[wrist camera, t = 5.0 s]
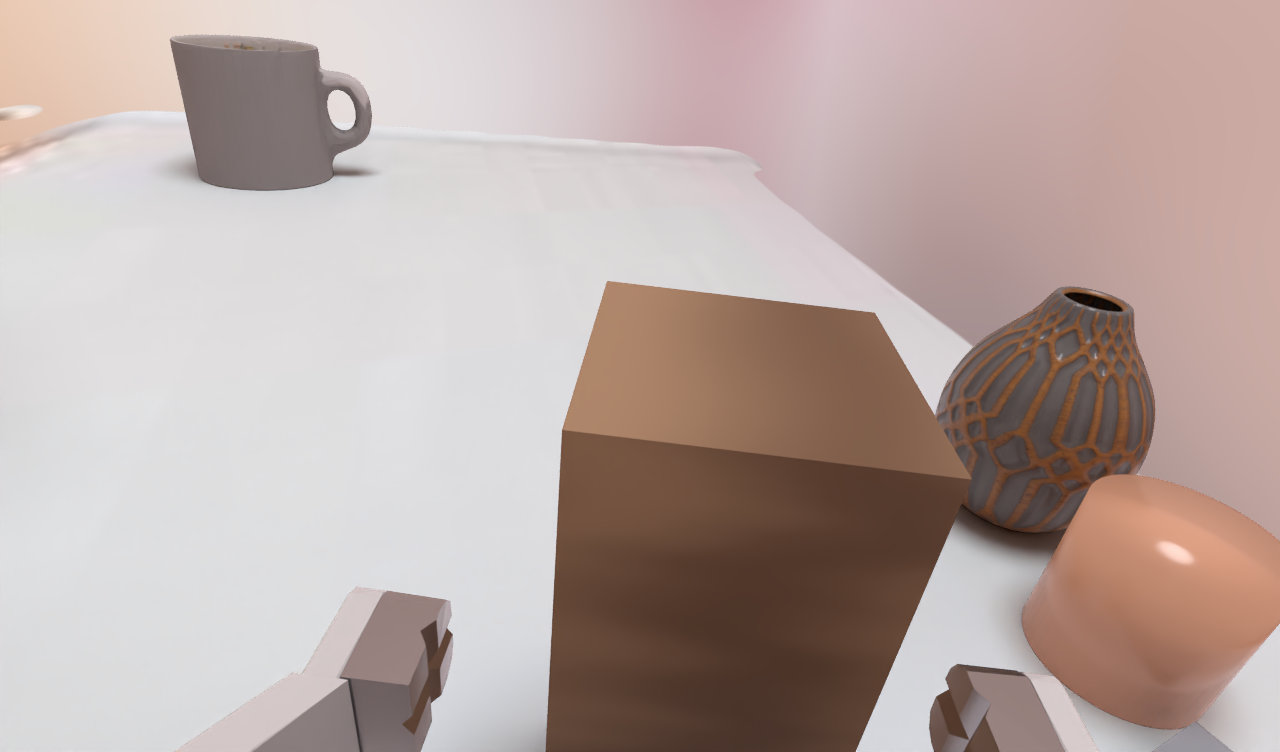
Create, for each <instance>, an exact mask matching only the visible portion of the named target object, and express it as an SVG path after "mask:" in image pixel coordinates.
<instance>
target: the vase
mask: <svg viewBox="0 0 1280 752" xmlns="http://www.w3.org/2000/svg"><path fill="white" fill-rule="evenodd" d="M935 417H936V419H937V420H938V422H939V424H940V425H941V427H942V429H943V431H944V432H945V434H946V436H947V437H948V439H949V441H950V443H951V444H952V446H953V448H954V449H955V451H956V453H957V455H958V456H959V458H960V460H961V461H962V463H963V465H964V467H965V468H966V470H967V472H968V473H969V475H970V477H971V479H972V481H971V483H970V485H969V488H968V490H967V492H966V495H965V497H964V499H963V502H962V504H963V505H964V506H965V507H966V508H967V509H969V510H970V511H971V512H973V513H974V514H976V515H977V516H979V517H981V518H983V519H984V520H986V521H988V522H991V523H993V524H995V525H998V526H1000V527H1003V528H1007V529H1010V530H1014V531H1020V532H1028V533H1038V532H1049V531H1057V530H1063V529H1067V528H1068V526H1069V525H1070V523H1071V521H1072V519H1073V517H1074V515H1075V514H1076V512H1077V510H1078V508H1079V506H1080V505H1081V503H1082V501H1083V499H1084V497H1085V496H1086V494H1087V492H1088V490H1089V488H1090V487H1091V485H1092V484H1093V483H1094V482H1095V481H1096V480H1098V479H1100V478H1102V477H1106V476H1110V475H1122V474H1127V475H1136V474H1137V473H1138V471H1139V469H1140V468H1141V466H1142V464H1143V462H1144V460H1145V458H1146V456H1147V453H1148V450H1149V447H1150V443H1151V439H1152V435H1153V429H1154V422H1155V400H1154V394H1153V389H1152V386H1151V383H1150V380H1149V377H1148V374H1147V371H1146V368H1145V365H1144V362H1143V360H1142V357H1141V354H1140V352H1139V349H1138V346H1137V343H1136V338H1135V333H1134V310H1133V308H1132V307H1131V306H1130V305H1129V304H1127V303H1126V302H1124V301H1123V300H1121V299H1118V298H1116V297H1114V296H1112V295H1109V294H1106V293H1103V292H1099V291H1096V290H1092V289H1087V288H1081V287H1061V288H1058V289H1057V290H1055V291H1054V292H1053V293H1052V294H1051V295H1050V296H1049V297H1048V298H1047V299H1045V300H1044V301H1043V302H1042V303H1041V304H1040V305H1039V306H1037V307H1036V308H1035V309H1033V311H1031V312H1029V313H1027V314H1025V315H1024V316H1022V317H1020V318H1018V319H1016V320H1014V321H1012V322H1011V323H1009V324H1007V325H1005V326H1003V327H1002V328H1000V329H998V330H997V331H995V332H993V333H991V334H990V335H988V336H987V337H985V338H984V339H983V340H981V341H980V342H979V343H977V344H976V345H975V346H974V347H973V348H972V349H971V350H970V351H969V352H968V353H967V354H966V355H965V357H964V358H963V359H962V360H961V361H960V363H959V364H958V365H957V367H956V368H955V369H954V371H953V372H952V374H951V376H950V377H949V379H948V381H947V383H946V385H945V387H944V389H943V392H942V394H941V397H940V400H939V403H938V406H937V410H936V414H935Z"/></svg>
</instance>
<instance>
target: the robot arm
mask: <svg viewBox="0 0 1280 752" xmlns="http://www.w3.org/2000/svg"><path fill="white" fill-rule="evenodd" d="M451 616H452V614H451V604H450V601H448V600H444V599H437V598H431V597H424V596H418V595H411V594H405V593H398V592H392V591H384V590H377V589H370V588H363V587H356V588H355V589H354V590H353V591H352V592H350V593H349V594H348V596H347V597H346V599H345V601H344V602H343V604H342V606H341V608H340V609H339V611H338V613H337V614H336V616H335V618H334V620H333V621H332V623H331V625H330V626H329V628H328V630H327V632H326V633H325V635H324V637H323V638H322V640H321V642H320V644H319V645H318V647H317V649H316V650H315V652H314V654H313V655H312V657H311V659H310V661H309V662H308V664H307V666H306V667H305V669H304V671H303V673H293V672H292V673H291V674H289V675H288V676H287V677H285V678H284V679H282V680H281V681H279V682H278V683H276V684H275V685H273V686H272V687H270V688H269V689H267V690H266V691H264V692H263V693H261V694H260V695H258V696H257V697H255V698H254V699H252V700H251V701H249V702H248V703H246V704H245V705H243V706H242V707H240V708H239V709H237V710H236V711H234V712H233V713H231V714H230V715H228V716H227V717H225V718H224V719H222V720H221V721H219V722H218V723H216V724H215V725H213V726H212V727H210V728H209V729H207V730H206V731H204V732H203V733H201V734H200V735H198V736H197V737H195V738H194V739H192V740H191V741H189V742H188V743H186V744H185V745H183V746H182V747H180V748H179V749H177V750H176V751H174V752H421V749H422V746H423V744H424V741H425V738H426V735H427V733H428V730H429V727H430V725H431V722H432V715H431V703H432V702H433V701H434V700H435V699H437V698H438V697H439V696H440V695H441V694H442V692H443V689H444V686H445V683H446V680H447V677H448V672H449V668H450V664H451V659H452V650H453V634H452V633H451V632H450V631H449V630H448V629H447V626H448V624H449V621H450V618H451ZM945 679H946V681H947V684H948V687H949V690H947V691H945V692H944V693H942V694H940V695H938V696H936V699H935V701H934V703H933V706H932V708H931V710H930V724H929V729H930V736H931V743H932V746H933V749H934V752H1099V751H1098V749H1097V747H1096V745H1095V743H1094V742H1093V740H1092V738H1091V736H1090V734H1089V732H1088V731H1087V729H1086V727H1085V725H1084V723H1083V721H1082V720H1081V718H1080V716H1079V714H1078V712H1077V710H1076V709H1075V707H1074V705H1073V703H1072V701H1071V699H1070V698H1069V696H1068V694H1067V692H1066V690H1065V688H1064V687H1063V685H1062V683H1061V682H1060V681H1059V680H1058V679H1057V678H1056V677H1055V676H1049V675H1041V674H1033V673H1026V672H1018V671H1014V670H1005V669H997V668H988V667H979V666H970V665H961V664H957V665H955V666H954V667H952V668H951V669H950V671H949V673H948V675H947V677H946V678H945Z"/></svg>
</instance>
